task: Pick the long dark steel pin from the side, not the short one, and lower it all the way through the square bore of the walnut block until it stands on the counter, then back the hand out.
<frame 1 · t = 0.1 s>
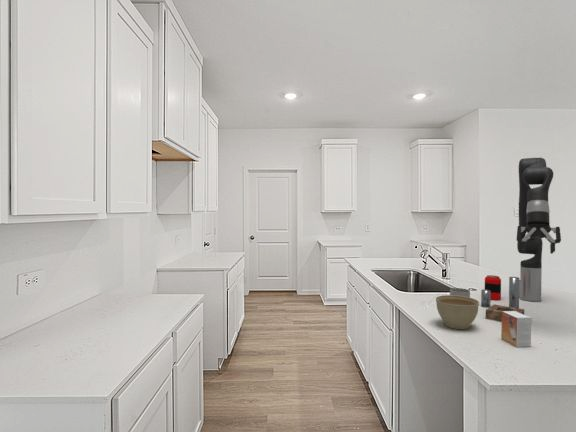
hand: (538, 252, 139), 31 cm above the worktop, tool tilted 20°, fingers open, 8 cm apart
soda can: (492, 299, 190), on the worktop
small box: (515, 343, 129), on the worktop
long steel pin: (513, 311, 167), on the worktop
cup: (459, 311, 168), on the worktop
short steel pin: (485, 306, 175), on the worktop
planter bowl: (456, 326, 147), on the worktop
walnut bored block: (504, 318, 156), on the worktop
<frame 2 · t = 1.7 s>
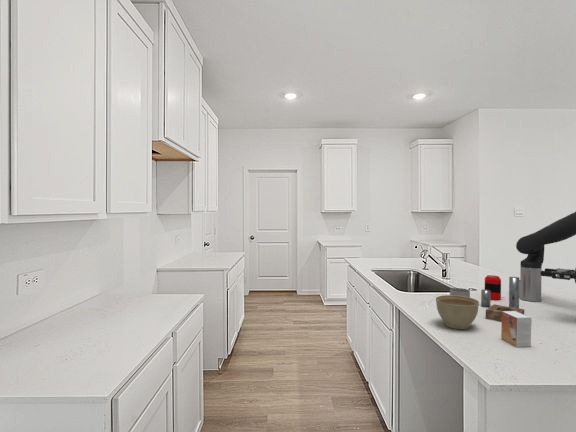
hand: (542, 271, 158), 20 cm above the worktop, tool horizontal, fingers open, 8 cm apart
nothing on the worktop moved.
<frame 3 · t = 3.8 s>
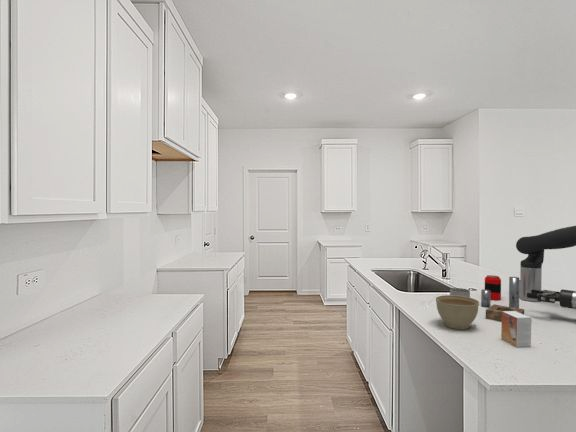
hand: (529, 293, 162), 9 cm above the worktop, tool horizontal, fingers open, 8 cm apart
nothing on the worktop moved.
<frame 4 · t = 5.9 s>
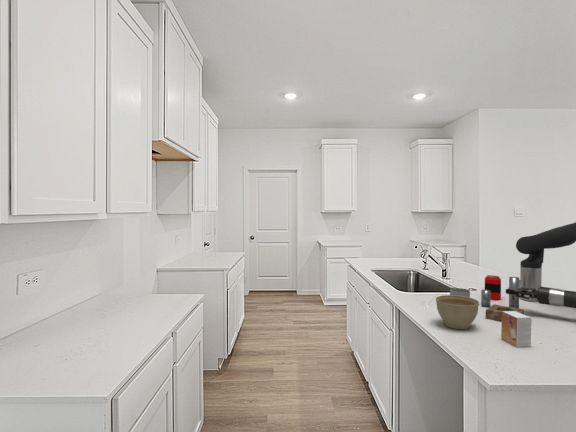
hand: (507, 290, 168), 10 cm above the worktop, tool horizontal, fingers closed on long steel pin, 4 cm apart
long steel pin: (513, 311, 167), on the worktop, touching gripper
everything else where it was.
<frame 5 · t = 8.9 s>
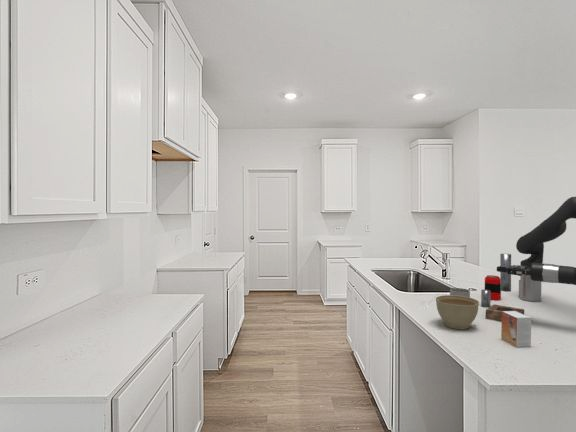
hand: (498, 268, 158), 22 cm above the worktop, tool horizontal, fingers closed on long steel pin, 4 cm apart
long steel pin: (505, 290, 156), point 12 cm above the worktop, touching gripper
everything else where it was.
when the fingers open (10 cm above the worktop, at t = 12.0 s): long steel pin stays where it is, resting in walnut bored block.
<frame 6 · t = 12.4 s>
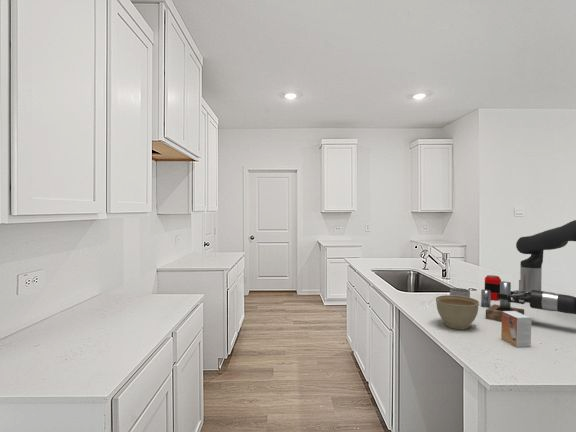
hand: (500, 294, 157), 11 cm above the worktop, tool horizontal, fingers open, 8 cm apart
long steel pin: (505, 318, 156), resting in walnut bored block
everything else where it was.
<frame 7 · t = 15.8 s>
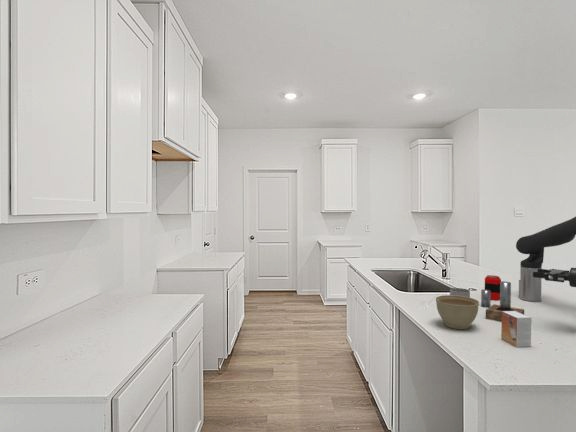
hand: (535, 272, 148), 22 cm above the worktop, tool horizontal, fingers open, 8 cm apart
nothing on the worktop moved.
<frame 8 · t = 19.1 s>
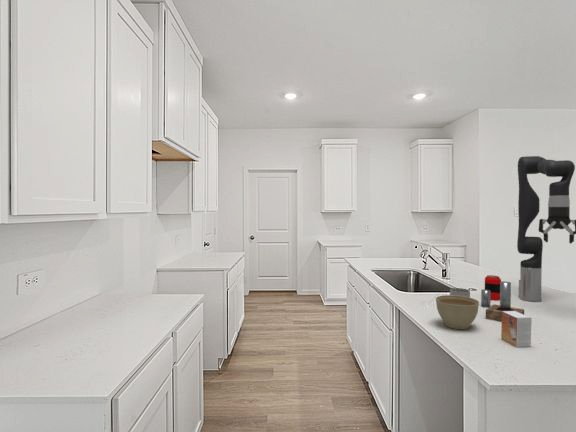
hand: (558, 242, 157), 33 cm above the worktop, tool pointing down, fingers open, 8 cm apart
nothing on the worktop moved.
at the end: long steel pin 0.1 cm from the walnut bored block (horizontally); long steel pin resting in walnut bored block; long steel pin tilted 0° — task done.
